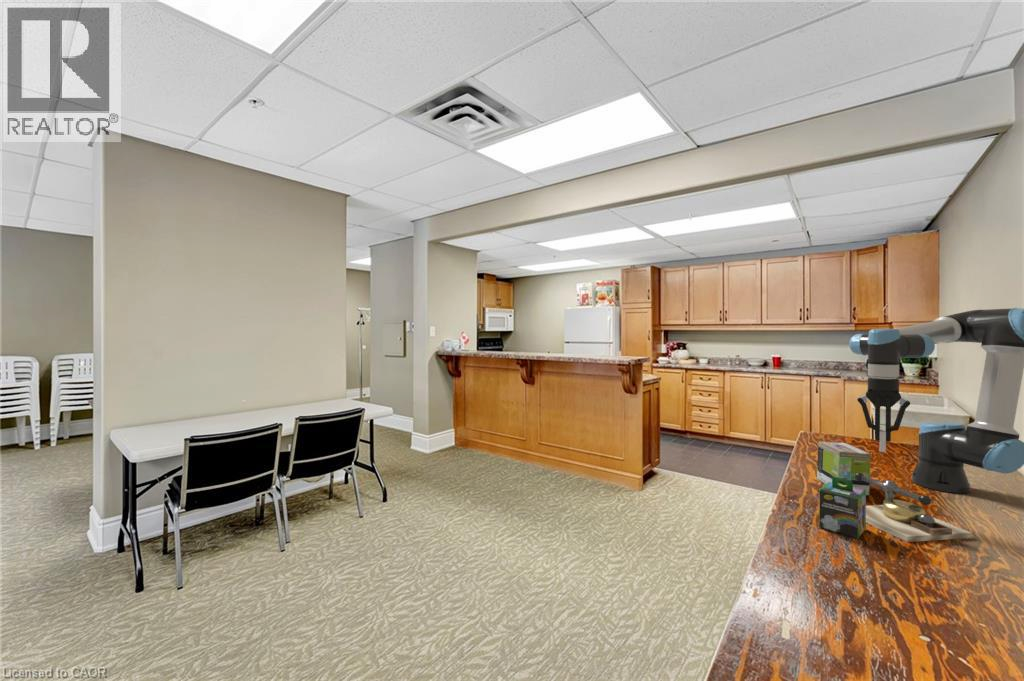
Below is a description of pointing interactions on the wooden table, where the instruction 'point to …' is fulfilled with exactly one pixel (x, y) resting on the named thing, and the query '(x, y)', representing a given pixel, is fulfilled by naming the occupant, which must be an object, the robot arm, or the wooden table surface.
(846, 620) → the wooden table surface
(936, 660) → the wooden table surface
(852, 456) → the tea box
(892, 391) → the robot arm
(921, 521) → the ball
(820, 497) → the chalk box
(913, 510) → the capstan
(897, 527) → the stand board
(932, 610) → the wooden table surface
